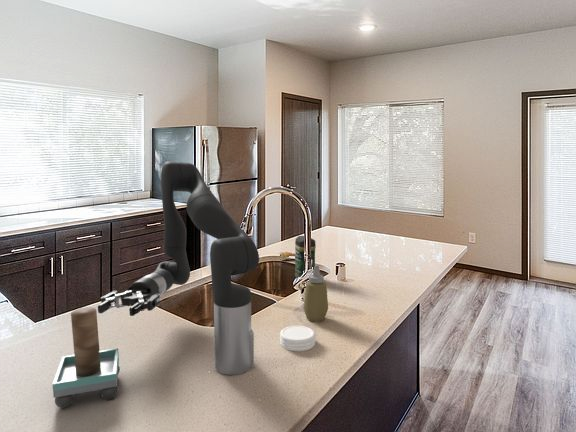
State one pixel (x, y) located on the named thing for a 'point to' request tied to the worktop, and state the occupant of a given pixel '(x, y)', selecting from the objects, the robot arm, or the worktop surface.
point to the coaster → (297, 338)
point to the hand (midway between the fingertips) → (115, 311)
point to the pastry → (286, 254)
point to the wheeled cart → (86, 378)
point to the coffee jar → (302, 255)
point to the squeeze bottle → (316, 297)
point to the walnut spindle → (86, 341)
